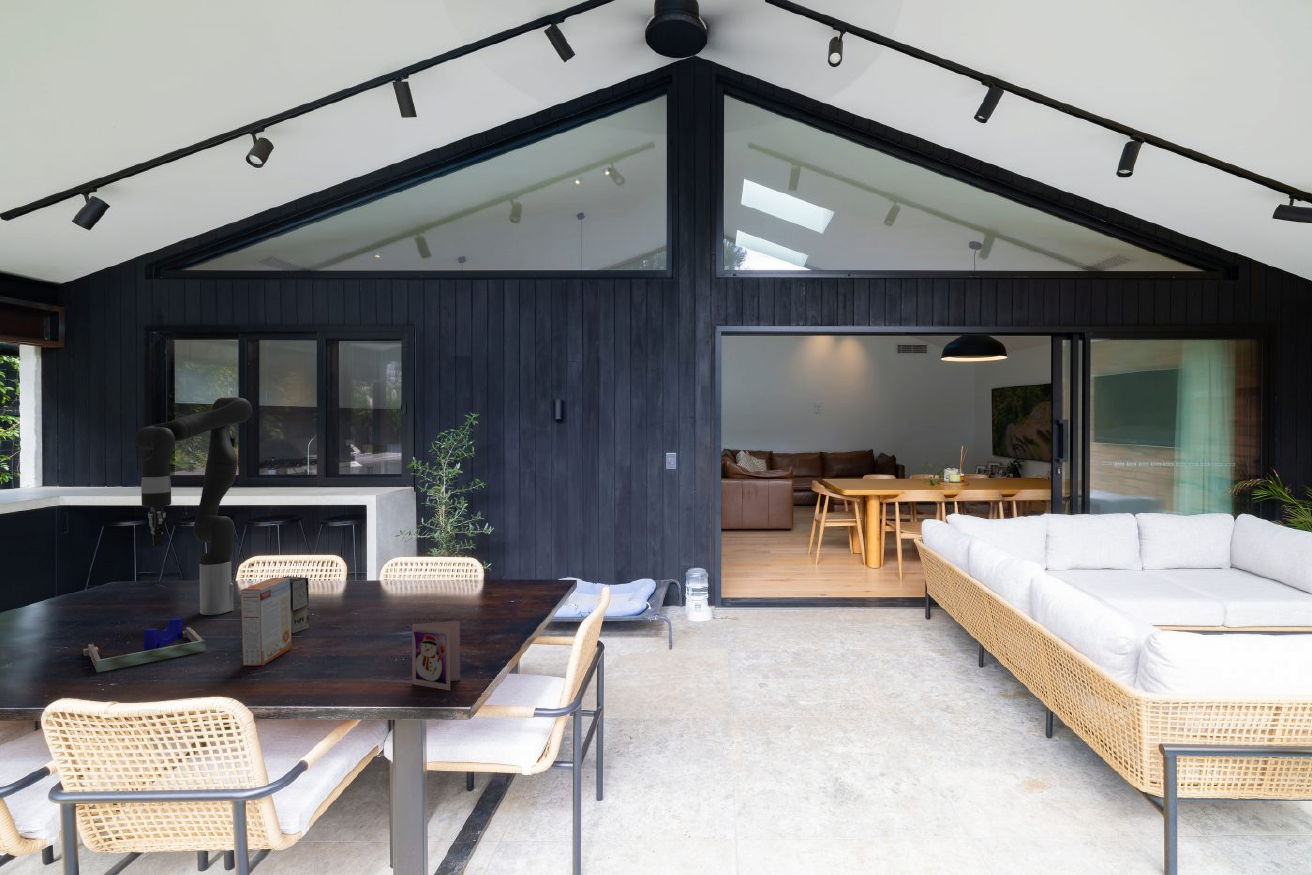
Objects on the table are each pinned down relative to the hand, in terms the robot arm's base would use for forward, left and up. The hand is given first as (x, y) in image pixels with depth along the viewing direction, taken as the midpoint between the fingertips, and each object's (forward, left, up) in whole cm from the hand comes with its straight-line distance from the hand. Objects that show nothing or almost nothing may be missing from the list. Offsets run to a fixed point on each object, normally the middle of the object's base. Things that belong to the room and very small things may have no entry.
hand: (157, 545), depth 212 cm
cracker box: (-17, +52, -27) cm, 61 cm away
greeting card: (-42, +103, -27) cm, 114 cm away
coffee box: (-30, +28, -27) cm, 49 cm away
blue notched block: (+2, +16, -27) cm, 32 cm away
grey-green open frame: (+6, +23, -27) cm, 36 cm away
